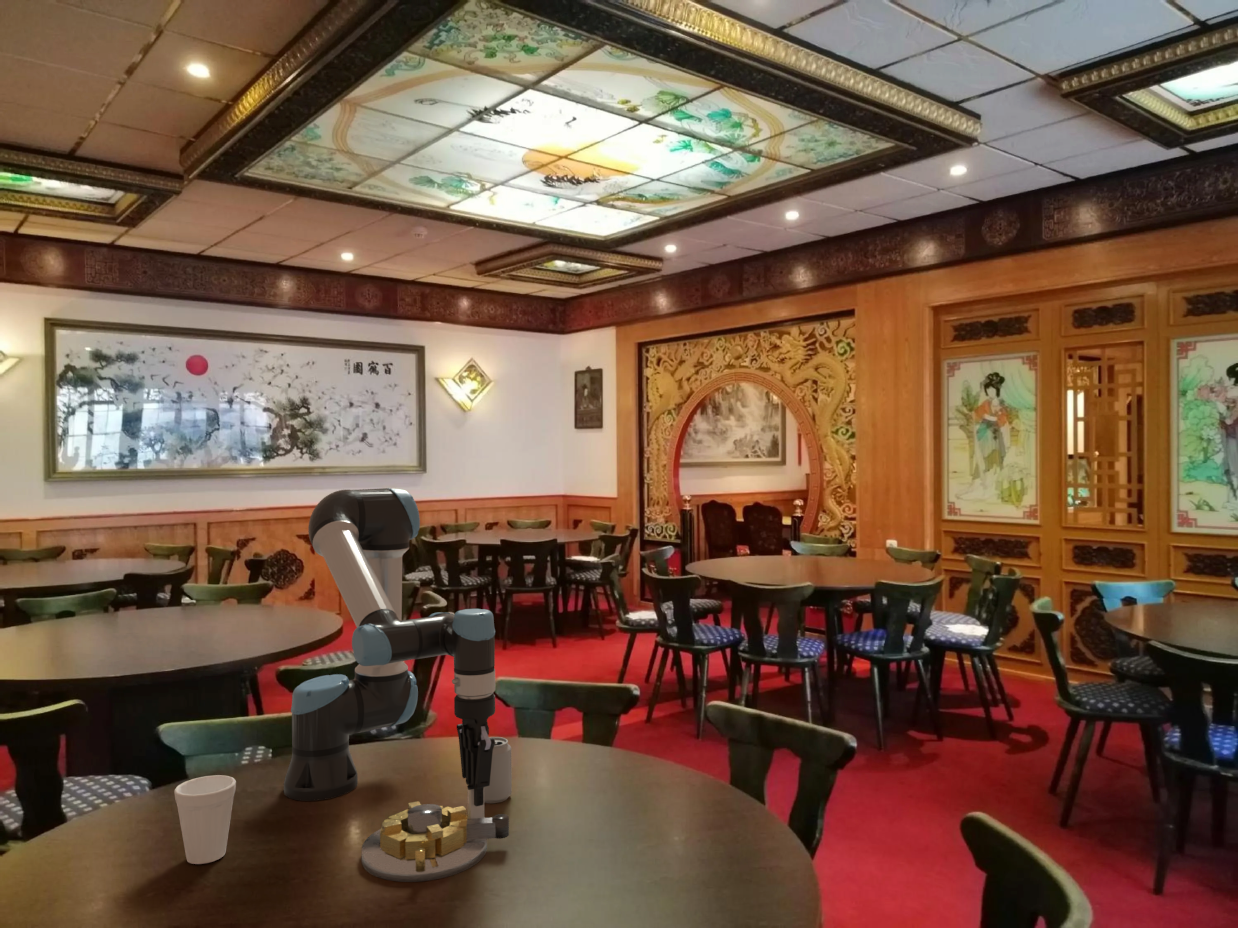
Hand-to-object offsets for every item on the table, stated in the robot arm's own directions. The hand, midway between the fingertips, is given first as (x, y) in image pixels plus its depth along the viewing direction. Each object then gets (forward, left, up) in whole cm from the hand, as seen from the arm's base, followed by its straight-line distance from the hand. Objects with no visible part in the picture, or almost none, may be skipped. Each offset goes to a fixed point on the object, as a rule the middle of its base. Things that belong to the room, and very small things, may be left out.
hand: (476, 820), depth 159 cm
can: (-16, +12, -4) cm, 21 cm away
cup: (-23, -42, -4) cm, 48 cm away
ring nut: (+1, -6, -1) cm, 7 cm away
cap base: (-1, -10, -4) cm, 10 cm away
